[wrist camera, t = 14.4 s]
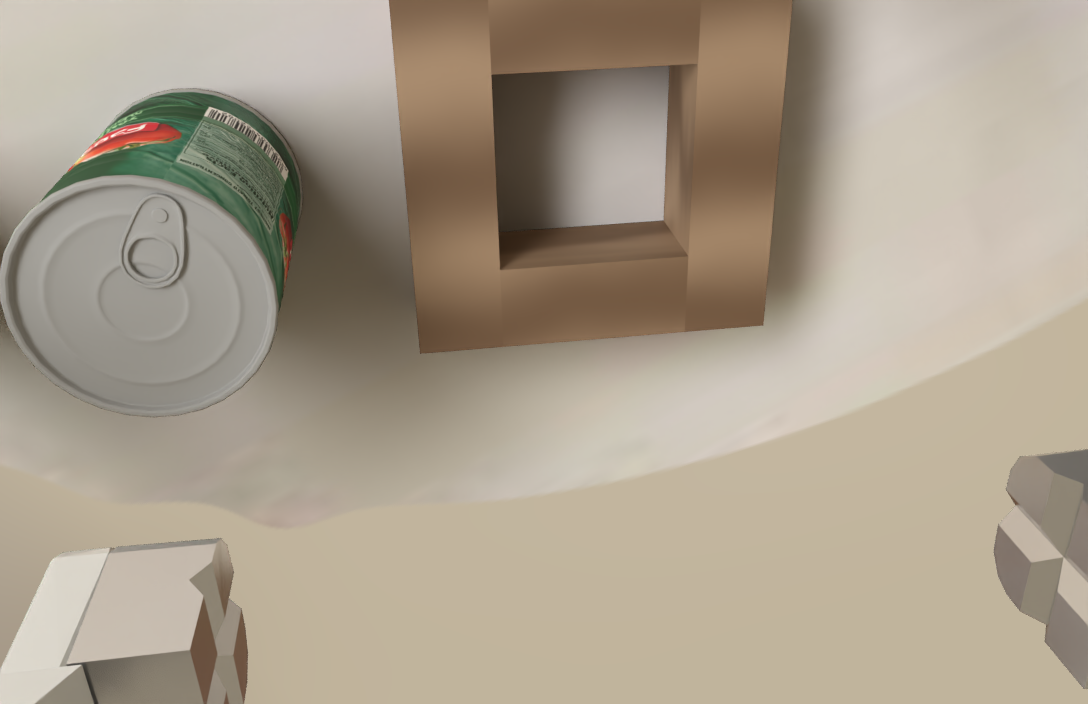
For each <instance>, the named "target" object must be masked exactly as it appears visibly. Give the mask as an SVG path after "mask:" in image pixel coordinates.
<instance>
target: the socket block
mask: <svg viewBox="0 0 1088 704" xmlns="http://www.w3.org/2000/svg"><path fill="white" fill-rule="evenodd" d="M792 2H793V0H389V7H390V18H391V29H392V41H393V52H394V63H395V74H396V86H397V97H398V108H399V120H400V131H401V142H402V154H403V165H404V176H405V187H406V199H407V210H408V221H409V233H410V244H411V255H412V267H413V278H414V289H415V301H416V312H417V323H418V334H419V346H420V354H421V353H433V352H445V351H457V350H469V349H481V348H493V347H506V346H518V345H530V344H542V343H554V342H566V341H578V340H590V339H603V338H615V337H627V336H639V335H651V334H663V333H675V332H688V331H700V330H712V329H724V328H736V327H748V326H760V325H763V322H764V311H765V300H766V289H767V278H768V267H769V256H770V245H771V233H772V222H773V211H774V200H775V189H776V178H777V167H778V156H779V145H780V134H781V123H782V112H783V101H784V90H785V79H786V68H787V57H788V46H789V35H790V24H791V13H792ZM667 65H670V66H669V93H668V120H667V147H666V174H665V201H664V221H653V222H638V223H624V224H610V225H595V226H581V227H567V228H552V229H538V230H524V231H509V232H498V213H497V190H496V168H495V146H494V123H493V101H492V78H491V75H494V74H513V73H532V72H552V71H571V70H590V69H609V68H628V67H648V66H667Z"/></svg>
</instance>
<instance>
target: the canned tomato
mask: <svg viewBox="0 0 1088 704" xmlns="http://www.w3.org/2000/svg"><path fill="white" fill-rule="evenodd" d="M302 201H303V190H302V182H301V175H300V172H299V169H298V166H297V163H296V160H295V157H294V155H293V153H292V151H291V150H290V148H289V146H288V144H287V142H286V141H285V139H284V138H283V137H282V135H281V134H280V133H279V132H278V131H277V129H276V128H275V127H274V126H273V125H272V124H271V123H270V122H269V121H268V120H267V119H266V118H264V117H263V116H262V115H261V114H259V113H258V112H257V111H256V110H255V109H253V108H251V107H249V106H247V105H246V104H244V103H242V102H240V101H239V100H237V99H235V98H232V97H229V96H226V95H223V94H220V93H217V92H213V91H207V90H201V89H194V88H192V89H171V90H167V91H163V92H158V93H154V94H151V95H149V96H147V97H145V98H142V99H140V100H138V101H136V102H134V103H132V104H131V105H130V106H128V107H127V108H126V109H125V110H123V111H122V112H121V113H119V114H118V115H117V116H116V117H115V119H114V120H113V121H112V122H111V123H110V125H109V126H108V127H107V128H106V130H105V131H104V132H103V133H102V134H101V135H100V136H99V137H98V139H97V140H95V142H94V143H93V144H92V145H91V146H90V147H89V148H88V149H87V151H86V152H85V153H84V154H83V155H82V156H81V157H80V158H79V159H78V160H77V161H76V163H75V164H74V165H73V166H72V167H71V168H70V169H69V170H68V171H67V173H66V174H65V175H63V177H62V178H61V179H60V180H59V182H57V183H56V184H55V186H54V187H53V188H52V189H51V190H50V191H49V192H48V193H47V194H46V196H45V197H44V198H43V199H42V201H41V202H40V203H39V204H38V205H36V206H35V207H34V208H32V209H31V210H30V211H29V212H28V214H27V215H26V216H25V217H24V218H23V220H22V221H21V222H20V223H19V225H18V226H17V227H16V228H15V230H14V232H13V234H12V236H11V238H10V240H9V242H8V245H7V247H6V249H5V251H4V254H3V259H2V264H1V269H0V301H1V305H2V308H3V312H4V315H5V319H6V322H7V325H8V327H9V329H10V331H11V333H12V335H13V337H14V339H15V340H16V342H17V344H18V346H19V348H20V349H21V350H22V351H23V353H24V354H25V355H26V356H27V358H28V359H29V360H30V361H31V363H32V364H33V365H34V366H35V367H36V368H37V369H38V370H39V371H40V372H41V373H42V374H44V375H45V376H46V377H47V378H48V379H49V380H50V381H51V382H53V383H54V384H55V385H57V386H58V387H60V388H61V389H63V390H65V391H66V392H68V393H69V394H71V395H73V396H74V397H76V398H78V399H80V400H82V401H85V402H87V403H90V404H92V405H94V406H97V407H99V408H101V409H105V410H109V411H113V412H117V413H121V414H125V415H134V416H145V417H163V416H177V415H182V414H186V413H190V412H194V411H198V410H202V409H205V408H207V407H209V406H211V405H214V404H216V403H218V402H220V401H223V400H224V399H226V398H227V397H229V396H230V395H232V394H233V393H234V392H236V391H237V390H239V389H240V388H242V387H243V386H244V385H245V384H246V383H247V382H248V381H249V379H250V378H251V377H252V376H253V375H254V374H255V373H256V372H257V371H258V370H259V368H260V366H261V365H262V363H263V361H264V360H265V358H266V356H267V355H268V353H269V351H270V349H271V346H272V343H273V339H274V336H275V333H276V330H277V322H278V313H279V310H280V307H281V300H282V297H283V291H284V288H285V281H286V278H287V272H288V269H289V263H290V260H291V254H292V251H293V245H294V240H295V236H296V231H297V227H298V222H299V219H300V216H301V212H302Z"/></svg>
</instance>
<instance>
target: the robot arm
mask: <svg viewBox="0 0 1088 704" xmlns="http://www.w3.org/2000/svg"><path fill="white" fill-rule="evenodd" d="M1006 491H1007V492H1008V494H1009V495H1010V497H1011V499H1012V500H1013V502H1014V503H1015V505H1016V506H1015V507H1014V508H1013V509H1012V510H1011V511H1010V512H1009V513H1008V514H1007V515H1006V517H1005V518H1004V519H1003V520H1002V521H1001V522H1000V523H999V524H998V528H997V534H996V540H995V546H994V556H995V561H996V567H997V573H998V577H999V579H1000V581H1001V583H1002V586H1003V588H1004V590H1005V592H1006V594H1007V595H1008V597H1009V598H1010V599H1011V601H1012V602H1013V603H1014V604H1015V605H1016V607H1017V608H1018V609H1019V611H1021V612H1022V613H1024V614H1026V615H1028V616H1030V617H1032V618H1035V619H1036V620H1038V621H1040V622H1042V623H1044V624H1046V634H1045V643H1046V644H1047V645H1048V646H1049V647H1050V649H1051V650H1052V651H1053V652H1054V653H1055V655H1056V656H1057V657H1058V658H1059V660H1060V661H1061V662H1062V663H1063V664H1064V666H1065V667H1066V668H1067V669H1068V670H1069V672H1070V673H1071V674H1072V675H1073V676H1074V678H1075V679H1076V680H1077V681H1078V682H1079V684H1080V685H1081V686H1082V687H1083V689H1088V449H1083V450H1074V451H1065V452H1056V453H1047V454H1038V455H1029V456H1020V457H1019V458H1018V460H1017V462H1016V463H1015V464H1014V466H1013V467H1012V468H1011V471H1010V475H1009V479H1008V483H1007V487H1006ZM233 574H234V571H233V567H232V563H231V559H230V555H229V551H228V547H227V544H226V543H225V542H224V541H223V540H222V538H217V539H206V540H193V541H181V542H169V543H158V544H157V543H156V544H144V545H133V546H121V547H116V548H100V549H90V550H80V551H70V552H62V553H61V554H59V555H58V556H56V557H55V558H53V560H52V561H51V562H50V564H49V567H48V569H47V571H46V573H45V575H44V577H43V580H42V581H41V584H40V586H39V588H38V590H37V592H36V595H35V597H34V599H33V601H32V603H31V605H30V607H29V609H28V611H27V613H26V615H25V618H24V620H23V622H22V624H21V626H20V628H19V631H18V633H17V635H16V637H15V639H14V641H13V643H12V645H11V648H10V650H9V652H8V654H7V656H6V659H5V660H4V663H3V665H2V667H1V669H0V704H244V700H245V694H246V687H247V669H248V649H247V640H246V630H245V624H244V619H243V614H242V609H241V608H240V607H239V606H238V605H236V604H235V603H234V602H233V601H232V600H230V599H229V595H230V589H231V584H232V579H233Z"/></svg>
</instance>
